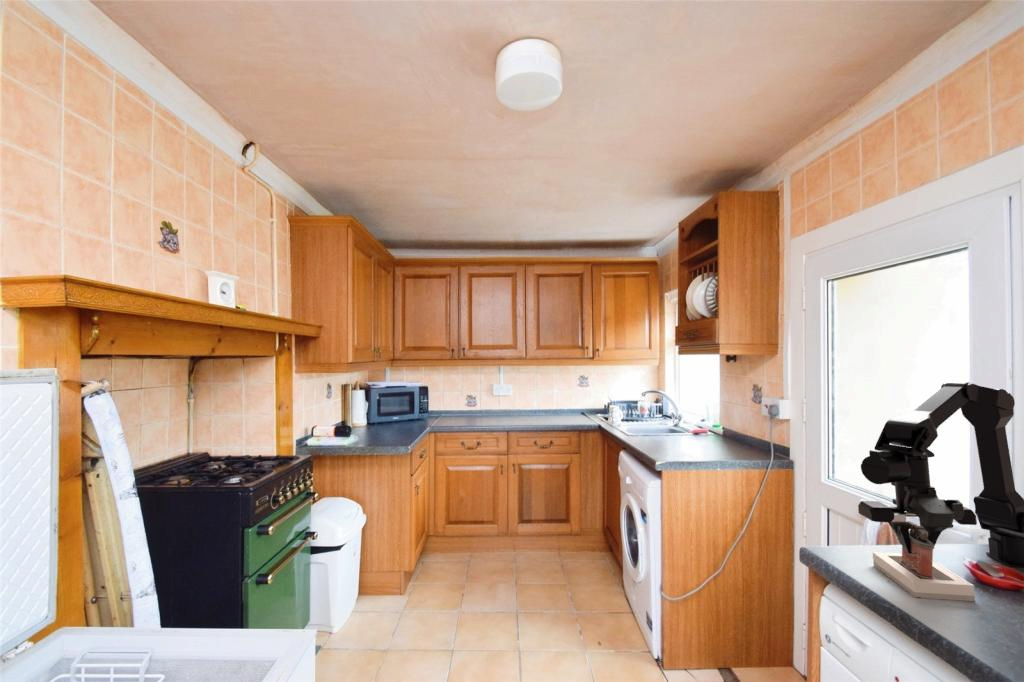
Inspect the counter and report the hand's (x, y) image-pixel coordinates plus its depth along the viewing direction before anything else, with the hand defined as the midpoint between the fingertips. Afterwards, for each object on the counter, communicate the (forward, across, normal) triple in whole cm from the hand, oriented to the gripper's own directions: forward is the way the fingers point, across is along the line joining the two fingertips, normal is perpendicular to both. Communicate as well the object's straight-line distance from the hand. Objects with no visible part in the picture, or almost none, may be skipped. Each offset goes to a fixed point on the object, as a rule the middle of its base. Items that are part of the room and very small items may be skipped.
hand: (918, 553), depth 94 cm
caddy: (+6, 0, 0) cm, 6 cm away
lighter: (+4, -1, 0) cm, 4 cm away
